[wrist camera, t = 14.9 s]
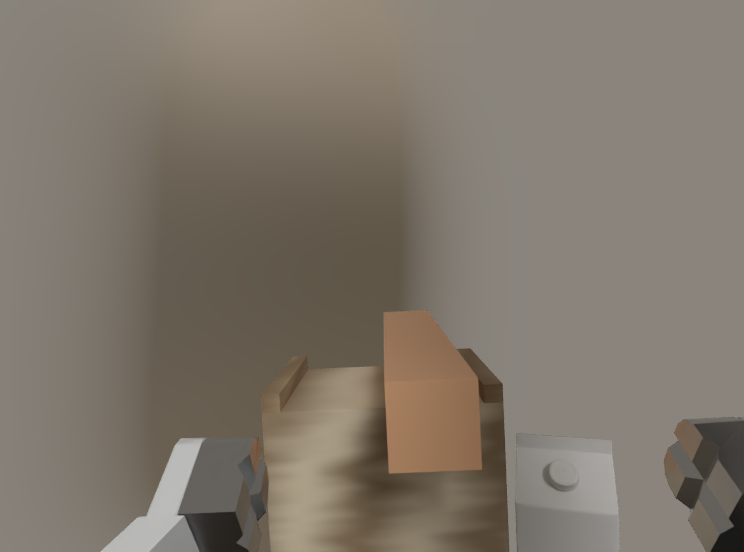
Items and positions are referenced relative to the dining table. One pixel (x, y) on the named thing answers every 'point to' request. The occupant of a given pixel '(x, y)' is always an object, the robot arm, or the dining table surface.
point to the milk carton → (565, 495)
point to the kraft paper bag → (373, 470)
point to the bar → (428, 398)
